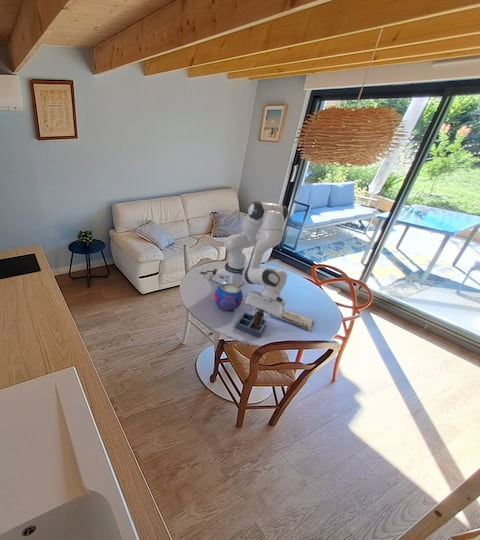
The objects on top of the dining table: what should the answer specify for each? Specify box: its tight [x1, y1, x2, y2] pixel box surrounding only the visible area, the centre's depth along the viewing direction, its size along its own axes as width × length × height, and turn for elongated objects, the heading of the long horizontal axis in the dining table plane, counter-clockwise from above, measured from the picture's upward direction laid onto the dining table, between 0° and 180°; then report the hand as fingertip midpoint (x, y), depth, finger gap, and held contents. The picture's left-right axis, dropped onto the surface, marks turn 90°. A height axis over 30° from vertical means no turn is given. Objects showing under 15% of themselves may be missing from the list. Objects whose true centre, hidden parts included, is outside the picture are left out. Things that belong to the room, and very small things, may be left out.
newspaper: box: [271, 308, 314, 331], centre depth 176 cm, size 23×12×2 cm, turn 48°
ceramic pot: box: [213, 283, 244, 311], centre depth 184 cm, size 18×18×15 cm
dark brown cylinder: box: [254, 309, 265, 325], centre depth 161 cm, size 4×4×10 cm
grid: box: [235, 311, 268, 338], centre depth 169 cm, size 13×13×4 cm
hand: (258, 317), depth 160 cm, fingers closed on dark brown cylinder, 4 cm apart
